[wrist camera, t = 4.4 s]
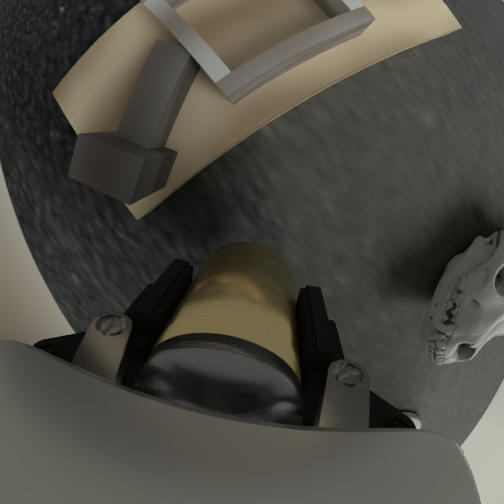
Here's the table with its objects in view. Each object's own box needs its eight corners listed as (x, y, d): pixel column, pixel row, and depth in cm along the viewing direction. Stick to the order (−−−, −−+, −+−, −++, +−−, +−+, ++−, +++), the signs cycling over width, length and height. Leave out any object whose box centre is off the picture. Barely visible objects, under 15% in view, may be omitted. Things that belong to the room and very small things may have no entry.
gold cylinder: (311, 300, 12) (331, 429, 6) (235, 338, 14) (208, 458, 7) (258, 222, 11) (229, 325, 5) (180, 273, 13) (106, 381, 6)
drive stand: (446, 34, 10) (498, 13, 4) (150, 211, 16) (100, 247, 11) (347, -70, 6) (364, -112, 1) (70, 94, 13) (8, 91, 8)
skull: (528, 293, 14) (507, 410, 9) (453, 279, 21) (407, 379, 16) (542, 214, 11) (553, 334, 5) (452, 205, 18) (408, 302, 12)
